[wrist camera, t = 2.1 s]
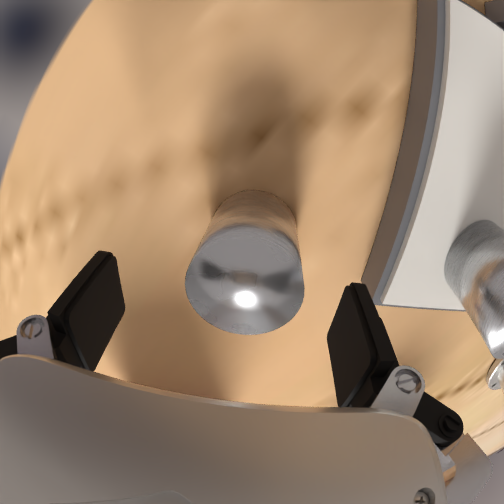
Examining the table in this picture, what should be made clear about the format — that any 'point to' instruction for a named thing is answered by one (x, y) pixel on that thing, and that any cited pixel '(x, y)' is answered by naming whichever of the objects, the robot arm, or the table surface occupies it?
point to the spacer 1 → (248, 266)
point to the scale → (443, 154)
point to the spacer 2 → (480, 279)
